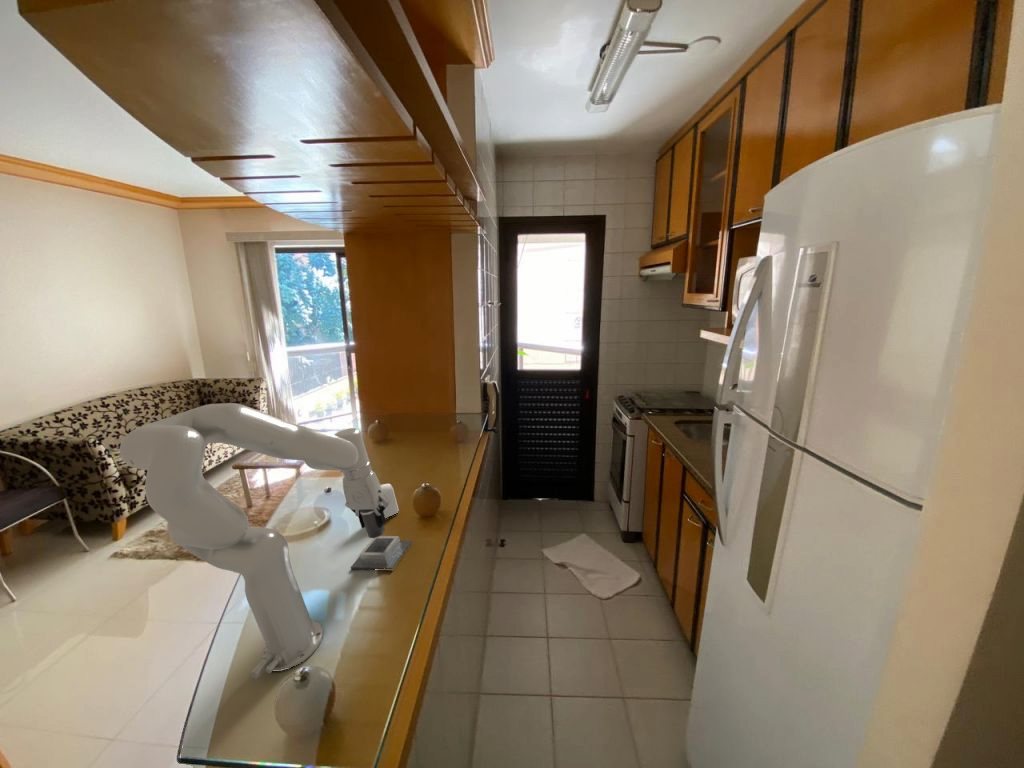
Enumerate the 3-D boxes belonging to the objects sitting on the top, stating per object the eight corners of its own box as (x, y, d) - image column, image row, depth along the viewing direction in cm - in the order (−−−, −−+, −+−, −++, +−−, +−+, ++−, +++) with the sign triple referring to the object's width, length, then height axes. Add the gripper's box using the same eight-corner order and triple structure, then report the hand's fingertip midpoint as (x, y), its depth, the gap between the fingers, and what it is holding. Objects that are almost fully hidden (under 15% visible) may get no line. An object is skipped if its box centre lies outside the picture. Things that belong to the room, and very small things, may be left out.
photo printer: (397, 508, 147) (389, 479, 144) (400, 513, 143) (392, 483, 140) (369, 521, 142) (360, 490, 138) (372, 526, 138) (363, 495, 135)
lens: (379, 538, 116) (371, 511, 114) (364, 538, 117) (356, 512, 115) (388, 527, 121) (380, 501, 118) (373, 527, 122) (366, 501, 120)
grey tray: (393, 571, 113) (389, 559, 112) (351, 569, 117) (347, 558, 116) (412, 543, 125) (409, 532, 124) (373, 543, 128) (370, 532, 127)
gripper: (324, 478, 112) (342, 533, 117) (376, 476, 108) (392, 533, 113) (340, 465, 119) (357, 517, 124) (390, 463, 115) (405, 517, 119)
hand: (373, 524), depth 118 cm, fingers closed on lens, 5 cm apart
